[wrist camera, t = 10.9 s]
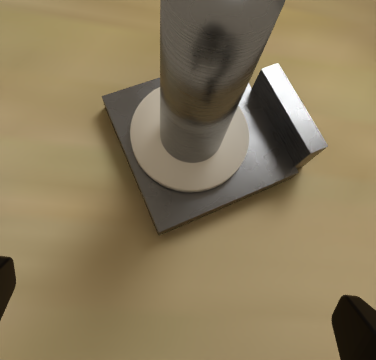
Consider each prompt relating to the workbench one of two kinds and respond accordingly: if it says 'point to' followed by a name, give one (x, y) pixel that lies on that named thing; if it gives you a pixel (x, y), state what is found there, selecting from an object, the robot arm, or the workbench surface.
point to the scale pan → (178, 170)
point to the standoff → (207, 68)
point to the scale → (255, 157)
